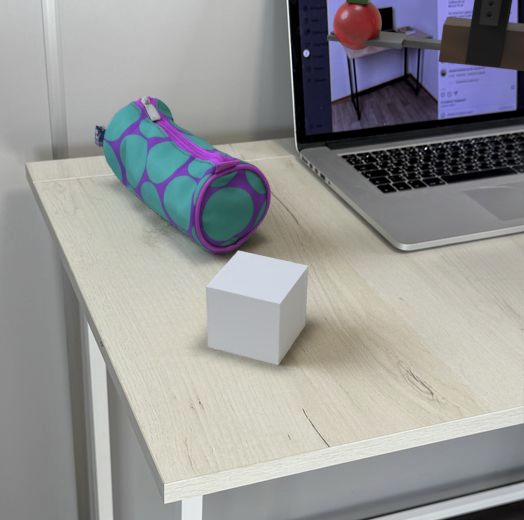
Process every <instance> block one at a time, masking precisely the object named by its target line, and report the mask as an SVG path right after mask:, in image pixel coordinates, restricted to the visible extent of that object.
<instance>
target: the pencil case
mask: <svg viewBox="0 0 524 520" xmlns="http://www.w3.org/2000/svg"><path fill="white" fill-rule="evenodd" d="M94 129H95V130H94V144H95V145H96V146H97V147H99V148H101V147H102V150H103V155H104V159H105V161H106V164H107V165H108V167H109V168H110V169H111V171H112V173H113V174H114V176H115V177H116V178H117V179H118V180H119V182H121V184H122V185H124V186H125V187H126V188H127V189H128V190H129V192H131V193H133V194H134V195H135V196H136V197H137V198H139V199H140V200H141V201H142V202H144V203H145V204H146V205H147V206H148V207H149V208H151V210H153V212H155V213H156V214H157V215H159V216H160V217H161V218H162V219H164V220H165V221H166V222H168V223H169V224H171V225H172V226H173V227H175V228H176V229H178V230H179V231H180V232H181V233H182V234H184V235H185V236H187V237H189V238H190V239H191V240H192V242H194V243H196V244H198V245H199V246H200V247H201V248H202V249H204V250H205V251H207V252H209V253H212V254H220V255H222V254H223V255H225V254H228V253H231V252H233V251H235V250H237V249H238V248H240V247H241V246H242V245H243V244H244V243H245V242H246V241H247V240H248V239H249V238H250V237H251V236H252V235H253V234H254V233H255V232H256V231H257V229H258V228H259V227H260V225H261V224H262V222H263V221H264V219H265V218H266V216H267V214H268V212H269V209H270V205H271V199H272V192H271V185H270V183H269V180H268V178H267V176H265V174H264V173H263V172H262V170H261V169H260V168H258V167H257V166H256V165H254V164H253V163H251V162H248V161H245V160H242V159H240V158H237V157H234V156H231V155H230V154H229V153H227V152H223V151H221V150H219V149H217V148H216V147H214V145H212V144H211V143H210V142H208V141H206V140H205V139H204V138H202V137H200V136H197V135H195V134H194V133H193V132H191V131H189V130H188V129H185V128H183V127H181V126H180V125H178V124H177V123H175V120H174V116H173V113H172V110H171V109H170V108H169V106H168V105H167V104H166V103H165V102H164V101H162V100H161V99H159V98H158V97H151V96H150V95H148V96H147V95H144V96H143V97H139V98H138V100H135V101H134V100H132V101H131V102H129V103H128V104H127V105H124V106H123V107H121V108H120V109H119V110H118V111H116V112H115V114H114V115H113V116H112V118H111V120H110V121H109V123H108V125H107V127H106V126H104V125H95V127H94Z"/></svg>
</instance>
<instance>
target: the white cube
mask: <svg viewBox="0 0 524 520" xmlns="http://www.w3.org/2000/svg"><path fill="white" fill-rule="evenodd" d="M308 280H309V265H308V264H303V263H298V262H293V261H288V260H284V259H279V258H275V257H271V256H267V255H261V254H257V253H251V252H247V251H243V250H237V251H236V253H234V255H233V256H232V257H231V258H230V259H229V260H228V261H227V262H226V263H225V264H224V265H223V266H222V268H220V270H219V271H218V272H217V273H216V274H215V276H214V277H213V278H212V279H211V280H210V281H209V283H208V284H207V285H205V298H206V299H205V300H206V301H205V302H206V330H207V331H206V332H207V334H206V335H207V348H209V349H214V350H217V351H221V352H225V353H229V354H233V355H236V356H240V357H245V358H249V359H252V360H256V361H259V362H260V361H261V362H264V363H268V364H272V365H276V366H279V365H280V363H281V362H282V361H283V359H284V357H285V356H286V355H287V354H288V352H289V350H290V349H291V348H292V346H293V344H294V343H295V342H296V340H297V338H298V337H299V335H300V334H301V333H302V331H303V329H304V328H305V327H306V322H307V303H308V302H307V301H308V284H309V283H308V282H309V281H308Z"/></svg>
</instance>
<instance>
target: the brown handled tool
mask: <svg viewBox="0 0 524 520" xmlns="http://www.w3.org/2000/svg"><path fill="white" fill-rule="evenodd" d="M471 20H472V18H470V17H469V18H468V17H459V16H458V17H457V16H447V17H446V18H445V21H444V22H443V25H442V31H441V38H440V39H438V38H437V39H436V38H425V37H417V36H408V33H403V32H395V31H394V32H393V31H382V25H383V22H382V21H383V20H382V15H381V12H380V11H379V9H378V7H377V6H376V5H375V4H374V3H373V2H372V0H345V1H344V2H343V3H342V4H341V5H340V6H339V7H338V8H337V10H336V12H335V14H334V17H333V22H332V30H331V31H330V32H329V34H327V36H326V41H328V42H337V43H340V45H342V46H343V47H344V48H346V49H349V50H353V51H356V50H357V51H359V50H364V49H367V48H368V47H376V48H385V49H395V50H401V49H402V48H413V49H422V50H432V51H439V53H438V62H439V63H446V64H454V65H455V64H456V65H465V66H473V67H474V66H475V67H483V68H493V69H502V70H512V71H520V72H521V71H522V72H524V23H520V22H510V21H509V22H507V28H506V34H505V40H504V46H503V52H502V58H501V64H500V67H491V66H481V65H472V64H465V61H466V54H467V47H468V40H469V33H470V27H471Z"/></svg>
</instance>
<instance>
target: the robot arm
mask: <svg viewBox="0 0 524 520" xmlns="http://www.w3.org/2000/svg"><path fill="white" fill-rule="evenodd" d="M512 5H513V0H473V8H472V12H471V19H472V20H471V27H470V33H469V40H468V47H467V54H466V61H465V64H472V65H471V66H473V65H481V66H480V67H483V66H491V67H490V68H492V67H500V64H501V58H502V52H503V46H504V40H505V34H506V28H507V22H510V17H511V12H512V11H511V10H512V7H513V6H512Z"/></svg>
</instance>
